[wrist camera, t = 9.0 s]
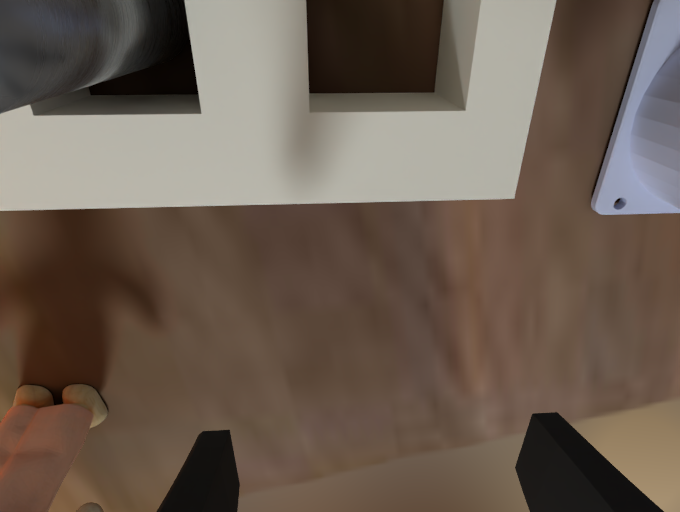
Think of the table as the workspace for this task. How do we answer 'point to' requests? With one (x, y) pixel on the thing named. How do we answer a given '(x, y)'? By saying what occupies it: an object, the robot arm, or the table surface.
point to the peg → (82, 43)
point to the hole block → (288, 121)
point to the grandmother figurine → (44, 444)
